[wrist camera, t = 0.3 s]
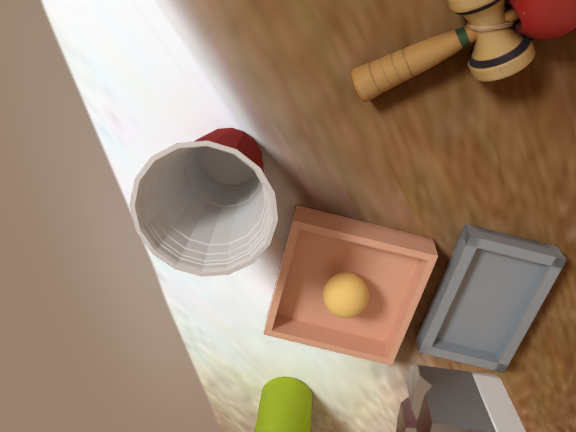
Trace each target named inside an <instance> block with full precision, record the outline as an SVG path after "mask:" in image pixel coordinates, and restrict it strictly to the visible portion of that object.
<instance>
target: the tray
mask: <svg viewBox="0 0 576 432" xmlns="http://www.w3.org/2000/svg"><path fill="white" fill-rule="evenodd" d="M566 260H567V259H566V258H565V256H564V255H563V254H562V252H561V251H560V249H559V248H558V247H556V246H552V245H548V244H544V243H540V242H536V241H532V240H528V239H524V238H520V237H516V236H512V235H508V234H504V233H500V232H496V231H492V230H488V229H484V228H480V227H476V226H472V225H468V224H465V226H464V228H463V231H462V233H461V235H460V237H459V240H458V242H457V244H456V247H455V249H454V251H453V254H452V256H451V258H450V260H449V263H448V265H447V267H446V270H445V272H444V274H443V277H442V279H441V281H440V283H439V286H438V288H437V290H436V293H435V295H434V297H433V299H432V302H431V304H430V306H429V309H428V311H427V313H426V316H425V318H424V320H423V322H422V325H421V327H420V329H419V332H418V334H417V336H416V341H417V346H418V352H420V353H424V354H428V355H432V356H436V357H440V358H445V359H449V360H453V361H457V362H461V363H465V364H469V365H474V366H478V367H482V368H486V369H490V370H494V371H498V372H502V373H504V372H505V370H506V368H507V366H508V365H509V363H510V361H511V359H512V357H513V356H514V354H515V352H516V350H517V348H518V347H519V345H520V343H521V341H522V339H523V338H524V336H525V334H526V332H527V330H528V329H529V327H530V325H531V323H532V321H533V320H534V318H535V316H536V314H537V312H538V311H539V309H540V307H541V305H542V303H543V302H544V300H545V298H546V296H547V294H548V293H549V291H550V289H551V287H552V285H553V284H554V282H555V280H556V278H557V276H558V275H559V273H560V271H561V269H562V267H563V266H564V264H565V262H566Z"/></svg>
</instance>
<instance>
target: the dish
mask: <svg viewBox="0 0 576 432" xmlns="http://www.w3.org/2000/svg"><path fill="white" fill-rule="evenodd" d="M437 258H438V254H437V250H436V247H435V243H434V240H433V239H432V238H428V237H424V236H420V235H416V234H412V233H408V232H404V231H400V230H396V229H392V228H388V227H383V226H379V225H375V224H371V223H367V222H363V221H359V220H355V219H351V218H347V217H343V216H339V215H335V214H331V213H327V212H323V211H319V210H315V209H311V208H307V207H303V206H298V205H296V209H295V213H294V216H293V220H292V224H291V228H290V231H289V235H288V239H287V243H286V247H285V250H284V254H283V258H282V262H281V266H280V269H279V273H278V277H277V281H276V284H275V288H274V292H273V296H272V300H271V303H270V307H269V311H268V315H267V320H266V325H265V329H264V335H268V336H272V337H277V338H281V339H285V340H289V341H293V342H297V343H301V344H306V345H310V346H314V347H318V348H322V349H326V350H330V351H335V352H339V353H343V354H347V355H351V356H355V357H359V358H364V359H368V360H372V361H376V362H380V363H384V364H389V365H392V364H393V362H394V360H395V357H396V355H397V353H398V350H399V348H400V345H401V343H402V341H403V338H404V336H405V334H406V331H407V329H408V327H409V324H410V322H411V319H412V317H413V315H414V312H415V310H416V308H417V305H418V303H419V301H420V298H421V296H422V293H423V291H424V289H425V286H426V284H427V282H428V279H429V277H430V274H431V272H432V270H433V267H434V265H435V263H436V260H437ZM341 272H350V273H354V274H356V275H358V276H359V277H361V278H362V279H363V280H364V282H365V283H366V285H367V287H368V291H369V301H368V304H367V306H366V308H365V309H364V310H363V312H362V313H360V314H359V315H357V316H355V317H352V318H340V317H338V316H335V315H334V314H332V313H331V312H330V311H329V310H328V309H327V307H326V305H325V303H324V299H323V290H324V287H325V284H326V283H327V281H328V280H329V279H330V278H331V277H332V276H334V275H335V274H338V273H341Z"/></svg>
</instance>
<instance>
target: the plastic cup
mask: <svg viewBox="0 0 576 432" xmlns="http://www.w3.org/2000/svg"><path fill="white" fill-rule="evenodd" d="M130 208H131V212H132V216H133V220H134V225H135V229H136V232H137V233H138V234H139V236H140V237H141V239H142V240H143V241H144V243H145V244H146V246H147V247H148V249H149V250H150V251H151V253H152V254H154V255H155V256H157V257H158V258H159V259H161V260H162V261H164V262H165V263H167V264H168V265H170V266H171V267H173V268H174V269H176V270H180V271H184V272H187V273H191V274H195V275H198V276H214V275H228V274H231V273H233V272H235V271H237V270H240V269H242V268H244V267H246V266H248V265H250V264H253V263H254V262H255V260H256V259H257V258H258V257H259V256H260V255H261V254H262V253H263V252H264V251H265V250H266V248H267V247H268V246H269V245H270V243H271V240H272V237H273V234H274V231H275V228H276V225H277V222H278V214H277V205H276V197H275V192H274V190H273V189H272V187H271V185H270V183H269V182H268V180H267V178H266V176H265V175H264V170H263V162H262V155H261V151H260V149H259V147H258V146H257V144H256V142H255V141H254V139H253V138H251V137H250V136H249V135H248V134H246V133H245V132H244V131H240V130H237V129H234V128H224V129H217V130H215V131H213V132H211V133H209V134H207V135H205V136H203V137H201V138H199V139H197V140H195V141H194V142H185V143H176V144H174V145H173V146H171V147H169V148H167V149H165V150H163V151H161V152H160V153H158V154H156V155H154V156H152V157H151V158H150V159H149V161H148V162H147V163H146V165H145V166H144V167H143V169H142V170H141V171H140V173H139V174H138V175H137V177H136V178H135V181H134V186H133V191H132V196H131V202H130Z"/></svg>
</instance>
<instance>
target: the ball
mask: <svg viewBox="0 0 576 432" xmlns="http://www.w3.org/2000/svg"><path fill="white" fill-rule="evenodd" d="M323 299H324V303H325V305H326V307H327V309H328V310H329V311H330V312H331V313H332V314H334V315H335V316H338V317H340V318H352V317H355V316H357V315H359V314H360V313H362V312H363V310H364V309H365V308H366V306H367V304H368V301H369V291H368V287H367V285H366V283H365V282H364V280H363V279H362V278H361V277H359V276H358V275H356V274H354V273H350V272H341V273H338V274H335V275H334V276H332V277H331V278H330V279H329V280H328V281H327V283H326V284H325V287H324V290H323Z"/></svg>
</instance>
